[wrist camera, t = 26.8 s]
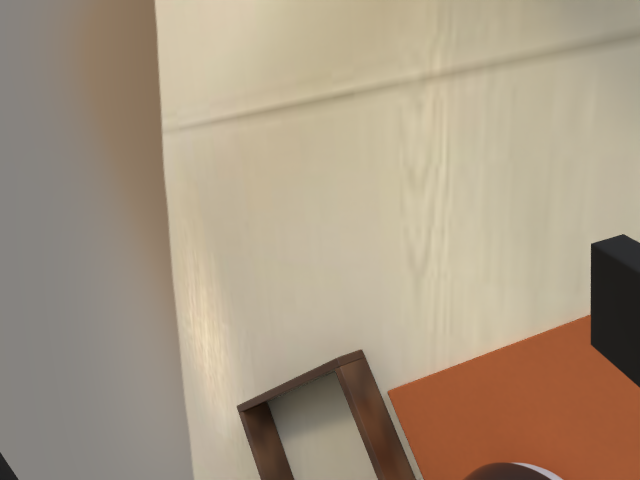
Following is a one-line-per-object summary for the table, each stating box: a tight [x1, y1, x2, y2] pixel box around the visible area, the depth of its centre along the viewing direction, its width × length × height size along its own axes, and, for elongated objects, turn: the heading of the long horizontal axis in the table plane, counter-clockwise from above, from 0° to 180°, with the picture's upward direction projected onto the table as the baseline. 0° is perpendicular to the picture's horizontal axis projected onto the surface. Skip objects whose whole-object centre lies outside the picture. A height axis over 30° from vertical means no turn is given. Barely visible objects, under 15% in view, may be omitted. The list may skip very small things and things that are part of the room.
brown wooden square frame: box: [237, 350, 416, 480], centre depth 51 cm, size 18×18×4 cm
